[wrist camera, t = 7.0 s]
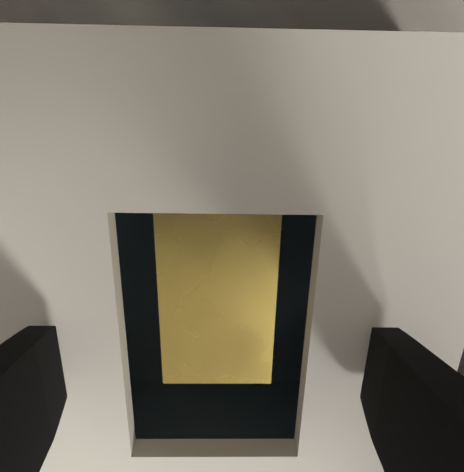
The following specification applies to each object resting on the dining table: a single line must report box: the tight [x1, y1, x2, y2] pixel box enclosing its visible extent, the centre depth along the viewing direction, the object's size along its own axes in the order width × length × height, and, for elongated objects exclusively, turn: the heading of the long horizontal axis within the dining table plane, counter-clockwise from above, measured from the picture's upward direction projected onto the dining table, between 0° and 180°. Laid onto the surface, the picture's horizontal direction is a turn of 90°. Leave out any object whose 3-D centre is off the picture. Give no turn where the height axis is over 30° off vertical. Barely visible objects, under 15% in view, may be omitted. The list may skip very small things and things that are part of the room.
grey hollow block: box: [0, 22, 464, 472], centre depth 13 cm, size 14×12×6 cm
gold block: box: [153, 213, 282, 384], centre depth 13 cm, size 5×3×5 cm, turn 179°
